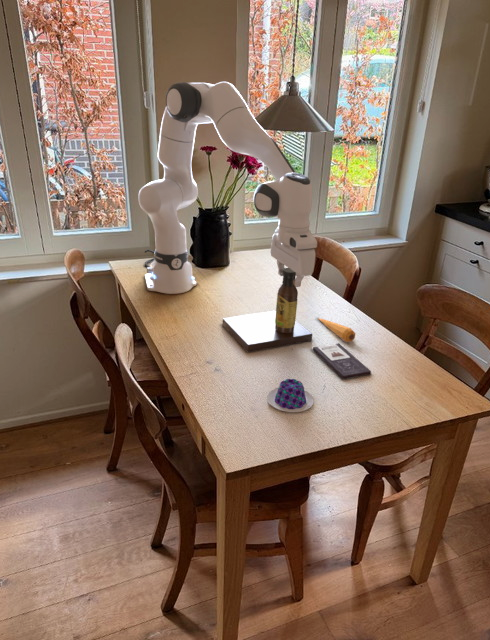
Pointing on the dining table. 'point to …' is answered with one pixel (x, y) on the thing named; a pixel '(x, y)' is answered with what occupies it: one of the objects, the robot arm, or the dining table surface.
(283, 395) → the pudding
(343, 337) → the carrot
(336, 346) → the chocolate bar
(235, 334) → the walnut board
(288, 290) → the sauce bottle
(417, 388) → the dining table surface
